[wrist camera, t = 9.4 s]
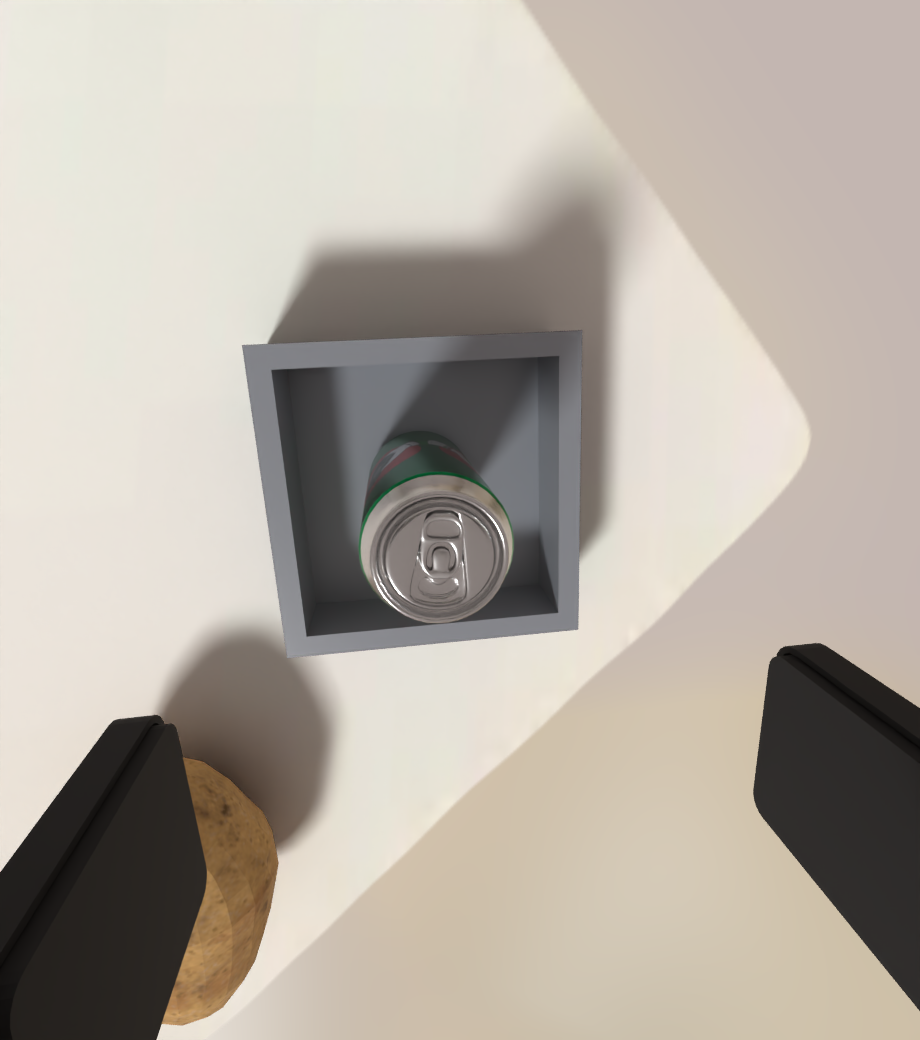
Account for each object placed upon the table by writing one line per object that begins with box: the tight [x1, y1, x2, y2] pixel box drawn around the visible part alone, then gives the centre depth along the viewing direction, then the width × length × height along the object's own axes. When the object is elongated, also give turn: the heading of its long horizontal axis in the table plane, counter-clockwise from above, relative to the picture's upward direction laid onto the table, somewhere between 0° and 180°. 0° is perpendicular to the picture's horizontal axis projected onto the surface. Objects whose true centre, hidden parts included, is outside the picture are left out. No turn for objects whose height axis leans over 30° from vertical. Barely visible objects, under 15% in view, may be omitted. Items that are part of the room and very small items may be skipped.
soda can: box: [358, 431, 514, 623], centre depth 23 cm, size 5×5×12 cm
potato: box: [162, 757, 278, 1025], centre depth 30 cm, size 10×14×8 cm
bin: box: [242, 330, 582, 658], centre depth 28 cm, size 14×14×4 cm
